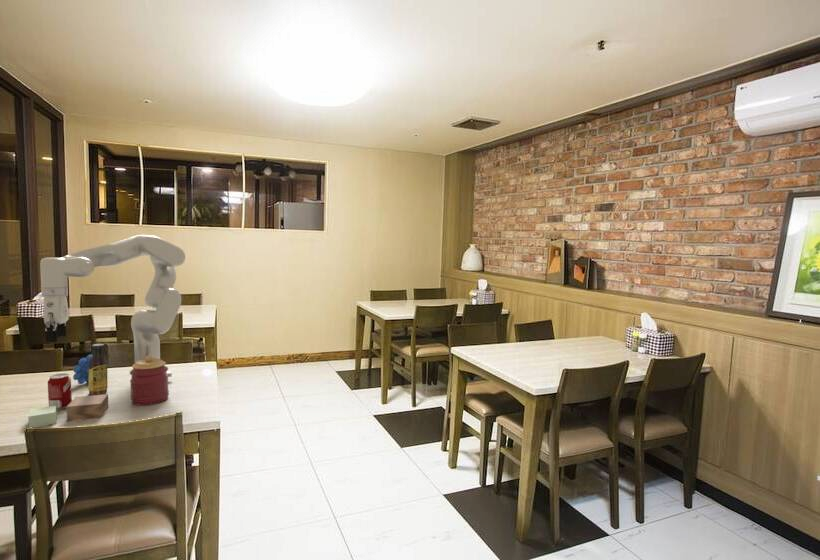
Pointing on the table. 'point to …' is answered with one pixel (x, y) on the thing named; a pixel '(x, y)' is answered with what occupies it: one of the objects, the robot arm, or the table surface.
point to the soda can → (59, 391)
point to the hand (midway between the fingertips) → (56, 339)
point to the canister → (149, 381)
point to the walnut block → (87, 407)
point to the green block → (42, 416)
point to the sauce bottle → (98, 371)
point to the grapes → (82, 370)
